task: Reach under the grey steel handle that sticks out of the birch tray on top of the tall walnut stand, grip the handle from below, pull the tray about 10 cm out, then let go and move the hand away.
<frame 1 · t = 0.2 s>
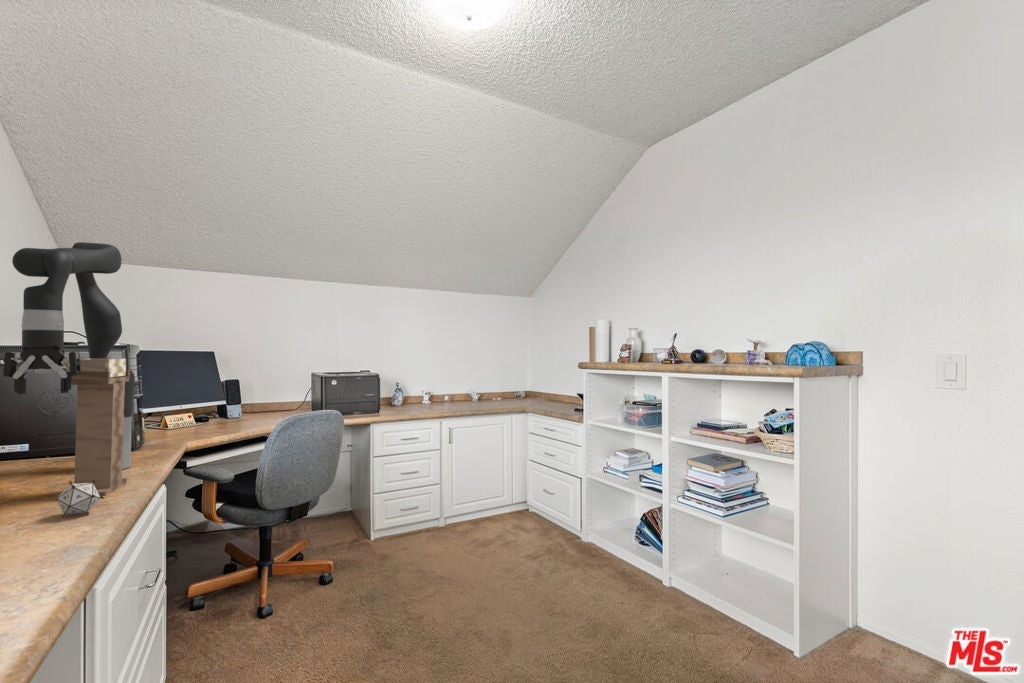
hand: (43, 393, 121), 29 cm above the worktop, tool pointing down, fingers open, 8 cm apart
game die: (78, 515, 117), on the worktop
stand: (94, 491, 136), on the worktop
tray: (78, 367, 135), point 35 cm above the worktop, slide at 0.0 cm
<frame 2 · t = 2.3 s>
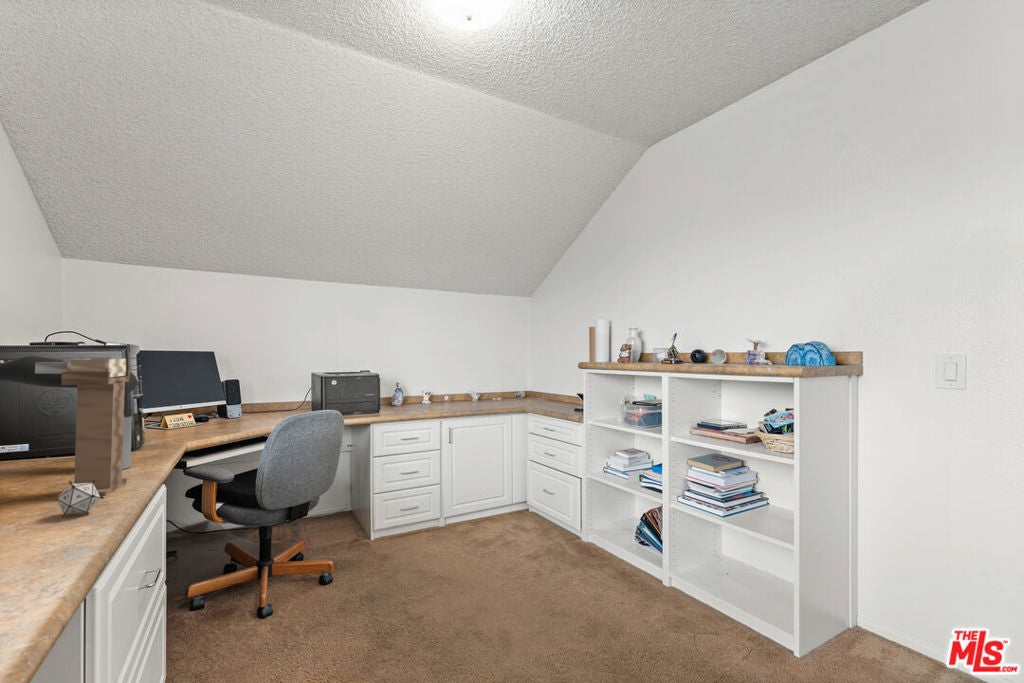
nothing on the worktop moved.
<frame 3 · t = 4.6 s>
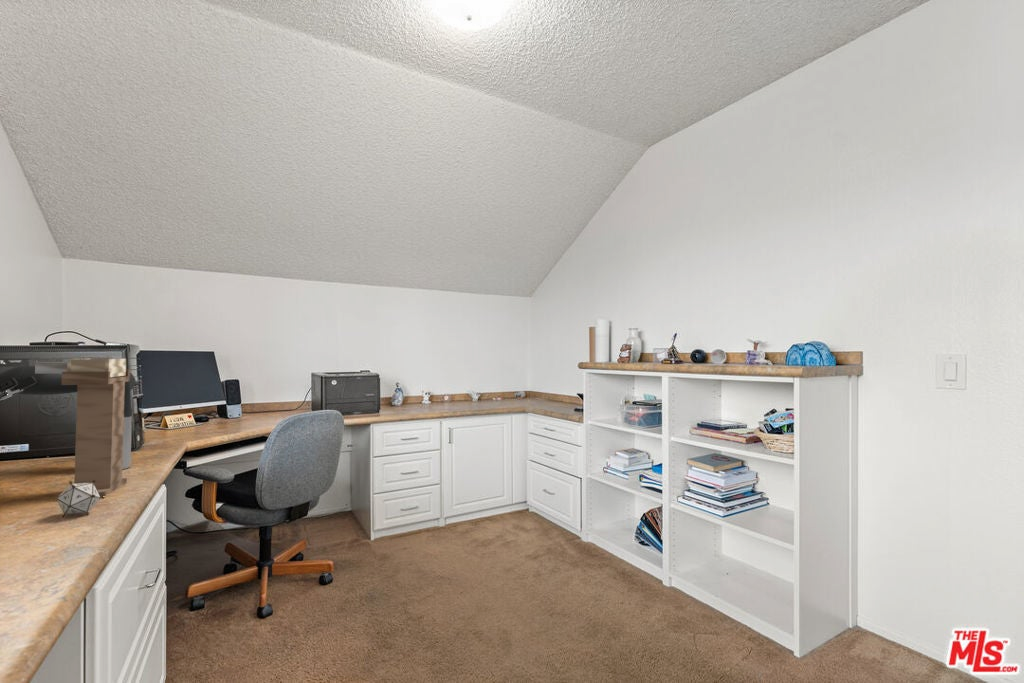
hand: (25, 380, 131), 31 cm above the worktop, tool pointing upward, fingers open, 8 cm apart
nothing on the worktop moved.
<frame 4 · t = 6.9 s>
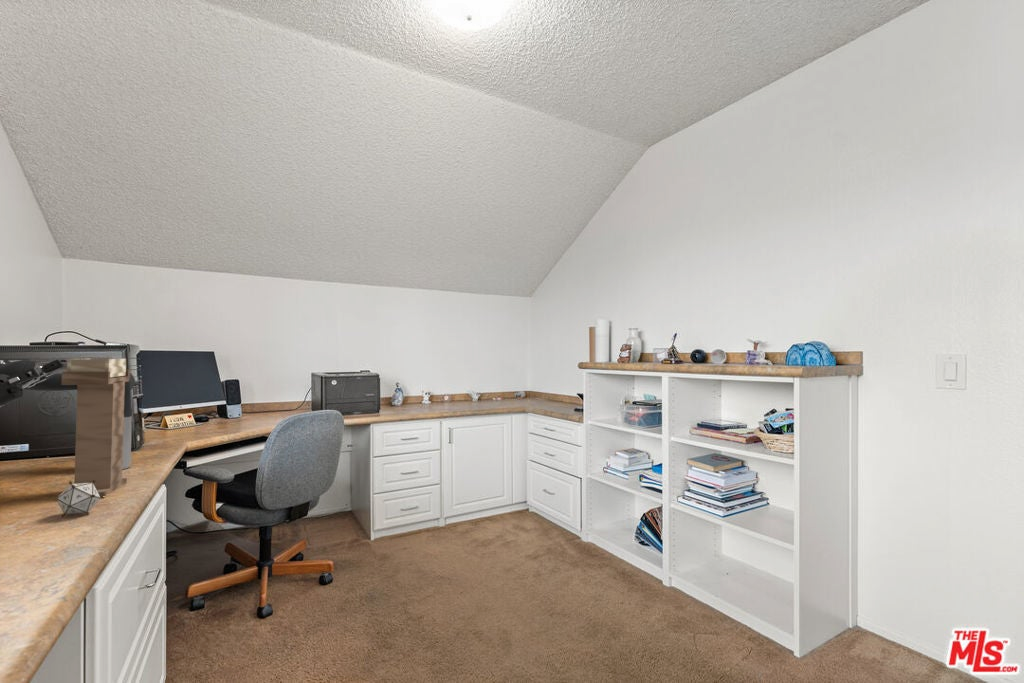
hand: (63, 362, 134), 36 cm above the worktop, tool pointing upward, fingers closed on tray, 3 cm apart
tray: (78, 367, 135), point 35 cm above the worktop, slide at 0.0 cm, touching gripper
everything else where it was.
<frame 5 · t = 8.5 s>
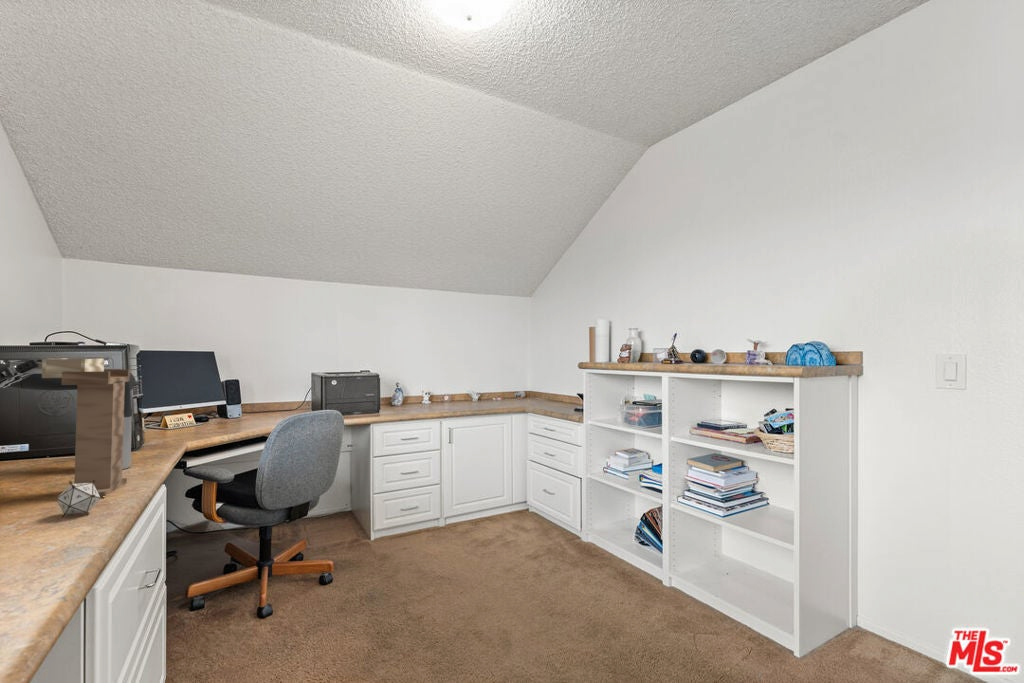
hand: (39, 362, 132), 36 cm above the worktop, tool pointing upward, fingers closed on tray, 3 cm apart
tray: (54, 367, 133), point 35 cm above the worktop, slide at 5.3 cm, touching gripper
everything else where it was.
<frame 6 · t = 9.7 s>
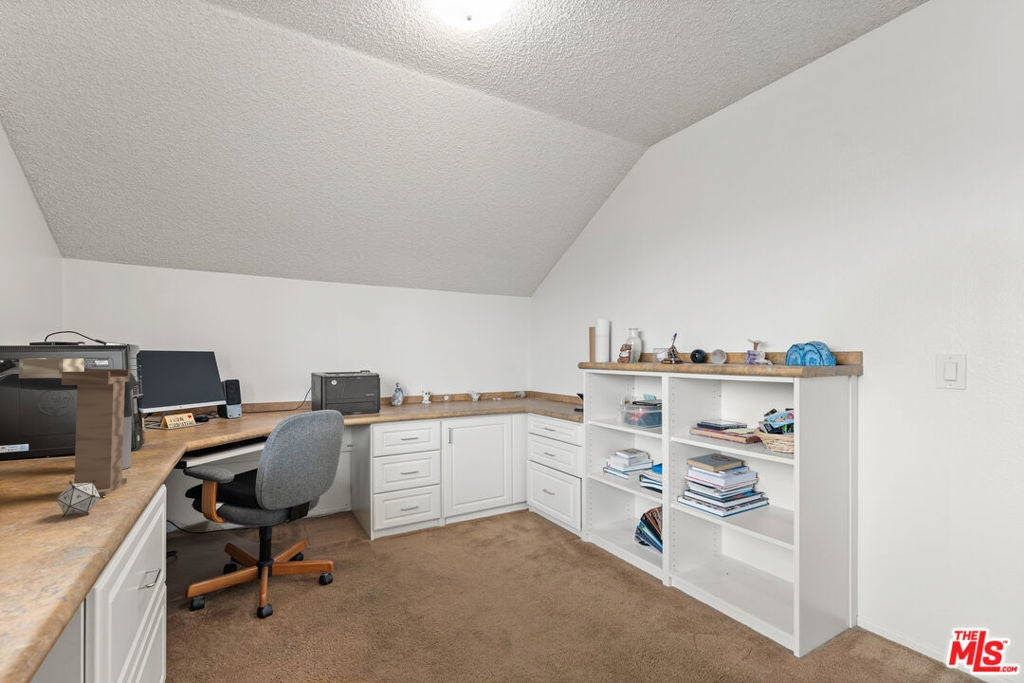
hand: (17, 362, 130), 36 cm above the worktop, tool pointing upward, fingers closed on tray, 3 cm apart
tray: (33, 367, 131), point 35 cm above the worktop, slide at 10.0 cm, touching gripper
everything else where it was.
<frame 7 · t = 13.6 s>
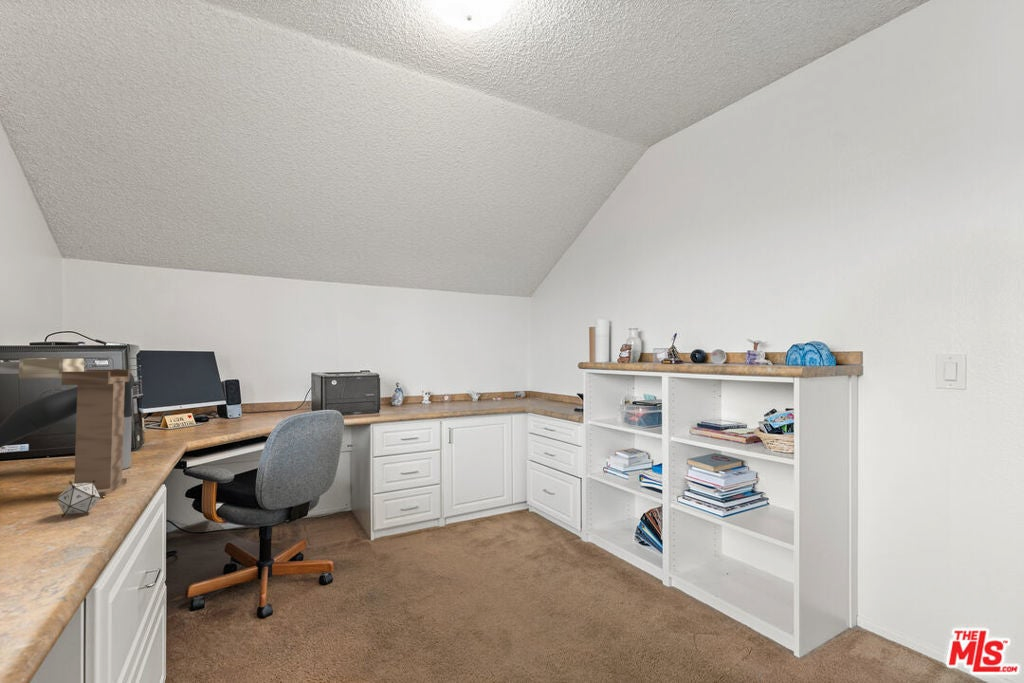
tray: (32, 367, 131), point 35 cm above the worktop, slide at 10.0 cm
everything else where it was.
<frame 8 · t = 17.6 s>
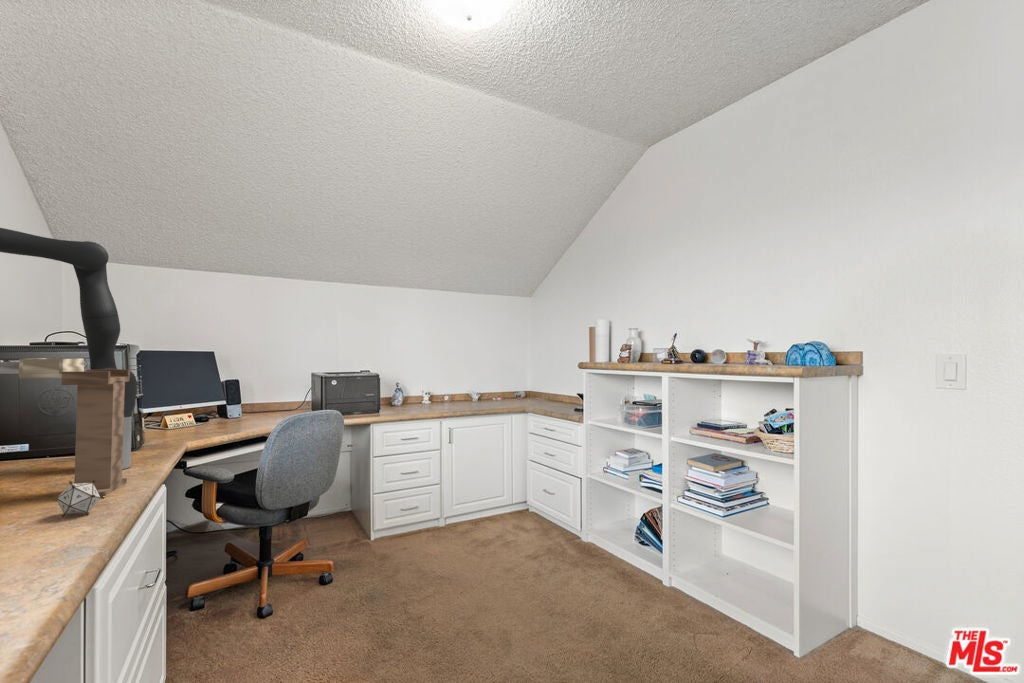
nothing on the worktop moved.
at the end: tray slide at 10.0 cm; the gripper is holding nothing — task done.
